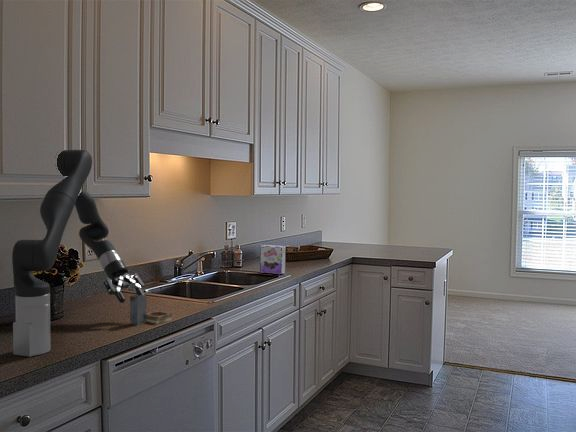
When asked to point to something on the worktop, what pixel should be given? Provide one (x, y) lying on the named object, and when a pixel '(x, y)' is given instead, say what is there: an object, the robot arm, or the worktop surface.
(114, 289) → the robot arm
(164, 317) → the socket
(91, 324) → the worktop surface
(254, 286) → the worktop surface
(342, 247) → the worktop surface
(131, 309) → the grey tall block
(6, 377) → the worktop surface
